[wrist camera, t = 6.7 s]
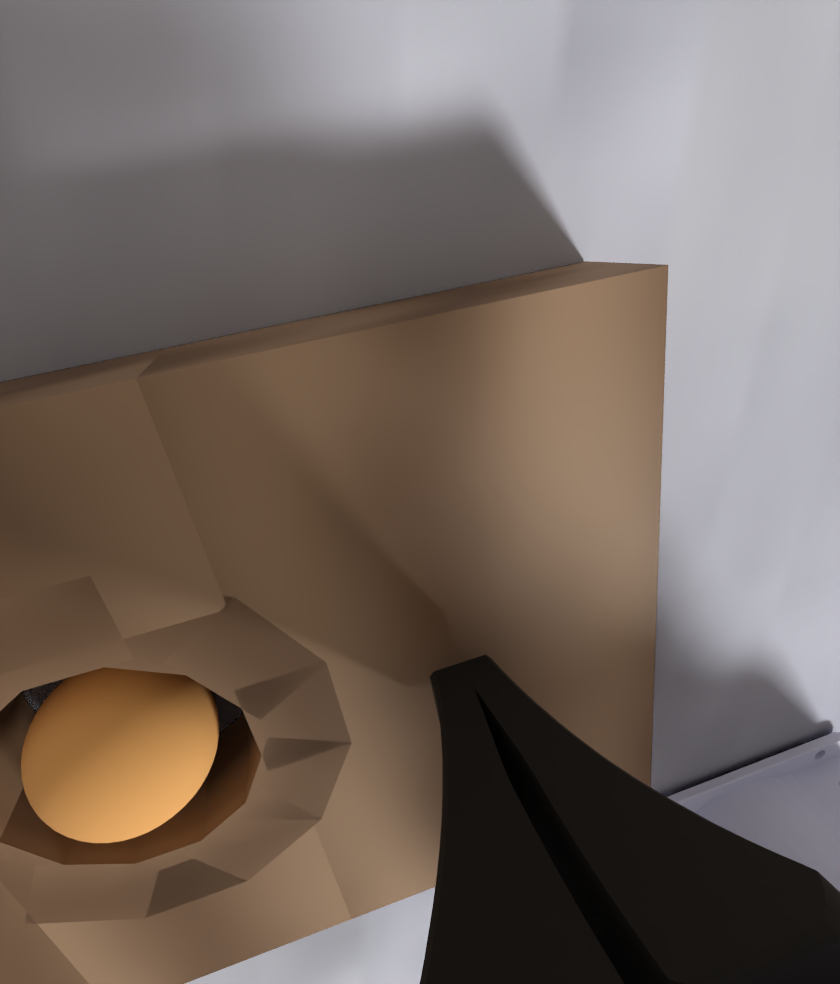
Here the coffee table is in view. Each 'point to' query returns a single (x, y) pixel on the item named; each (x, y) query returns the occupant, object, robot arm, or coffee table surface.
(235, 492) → the board
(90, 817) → the ball
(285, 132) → the coffee table surface
